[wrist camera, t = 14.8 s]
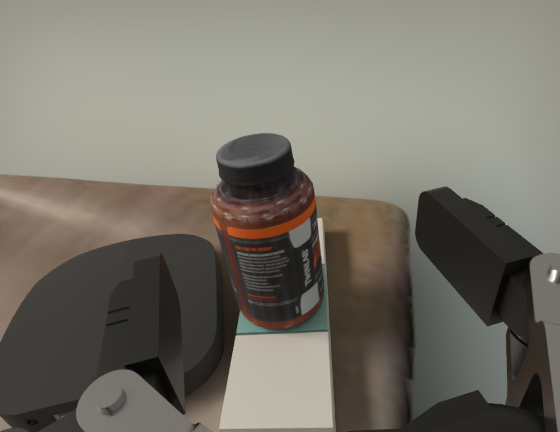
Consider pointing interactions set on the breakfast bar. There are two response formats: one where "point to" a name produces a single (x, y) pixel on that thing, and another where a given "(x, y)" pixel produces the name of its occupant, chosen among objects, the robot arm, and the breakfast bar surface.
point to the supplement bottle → (268, 231)
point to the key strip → (282, 374)
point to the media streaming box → (101, 325)
